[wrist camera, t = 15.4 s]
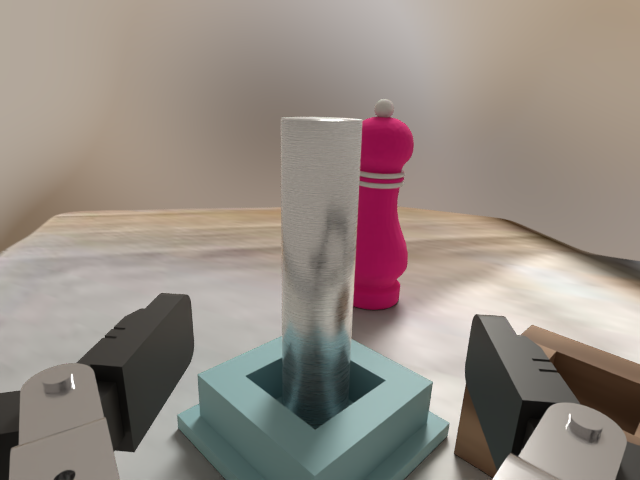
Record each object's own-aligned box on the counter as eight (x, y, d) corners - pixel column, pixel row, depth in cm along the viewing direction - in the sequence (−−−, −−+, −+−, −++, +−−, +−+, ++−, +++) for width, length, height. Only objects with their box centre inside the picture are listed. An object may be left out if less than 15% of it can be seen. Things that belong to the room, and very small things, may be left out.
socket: (314, 355, 36) (316, 311, 34) (447, 435, 28) (456, 382, 26) (178, 427, 27) (173, 373, 26) (311, 572, 19) (314, 504, 18)
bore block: (519, 383, 33) (532, 324, 31) (685, 460, 26) (712, 391, 25) (454, 453, 26) (466, 383, 25) (656, 580, 20) (690, 496, 18)
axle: (315, 390, 30) (321, 116, 24) (360, 420, 27) (379, 120, 21) (269, 419, 27) (264, 117, 21) (314, 455, 24) (322, 122, 19)
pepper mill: (352, 277, 51) (364, 98, 45) (412, 292, 48) (434, 101, 41) (322, 301, 45) (331, 96, 39) (389, 319, 42) (411, 100, 35)
